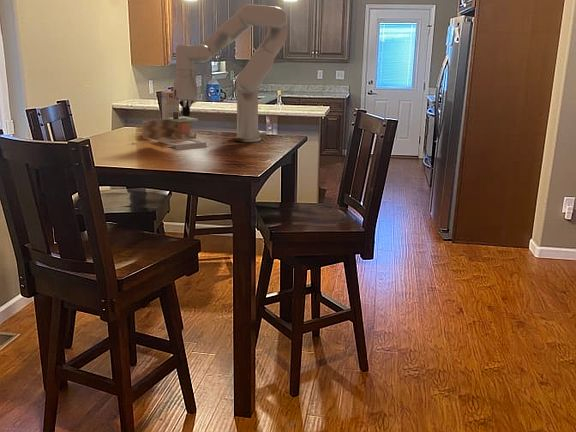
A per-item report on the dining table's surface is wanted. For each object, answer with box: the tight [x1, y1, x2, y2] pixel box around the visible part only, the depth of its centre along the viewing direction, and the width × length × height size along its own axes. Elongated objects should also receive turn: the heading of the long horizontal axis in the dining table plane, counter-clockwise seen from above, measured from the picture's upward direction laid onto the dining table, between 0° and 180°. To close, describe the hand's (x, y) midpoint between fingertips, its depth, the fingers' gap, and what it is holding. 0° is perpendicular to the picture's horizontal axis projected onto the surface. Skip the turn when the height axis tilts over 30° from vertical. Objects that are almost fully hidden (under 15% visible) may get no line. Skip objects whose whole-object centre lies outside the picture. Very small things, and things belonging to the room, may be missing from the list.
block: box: [177, 121, 191, 134], centre depth 251 cm, size 4×4×7 cm
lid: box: [165, 112, 199, 122], centre depth 250 cm, size 10×13×4 cm
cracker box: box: [160, 90, 180, 120], centre depth 264 cm, size 14×6×21 cm, turn 22°
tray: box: [160, 138, 207, 151], centre depth 236 cm, size 14×14×2 cm
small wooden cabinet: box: [141, 119, 200, 145], centre depth 249 cm, size 22×13×9 cm, turn 129°
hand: (186, 115), depth 250 cm, fingers closed
